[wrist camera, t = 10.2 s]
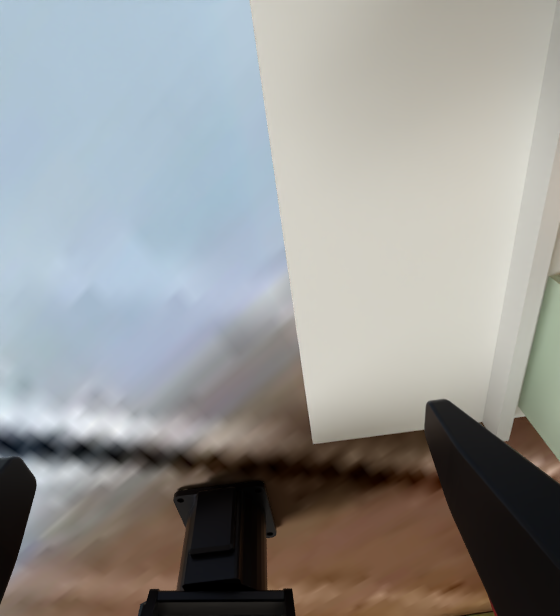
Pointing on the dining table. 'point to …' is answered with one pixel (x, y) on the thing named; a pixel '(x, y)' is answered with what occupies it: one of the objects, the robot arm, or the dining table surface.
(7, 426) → the dining table surface
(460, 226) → the shelf
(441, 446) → the robot arm
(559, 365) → the sage tea box
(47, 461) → the dining table surface
